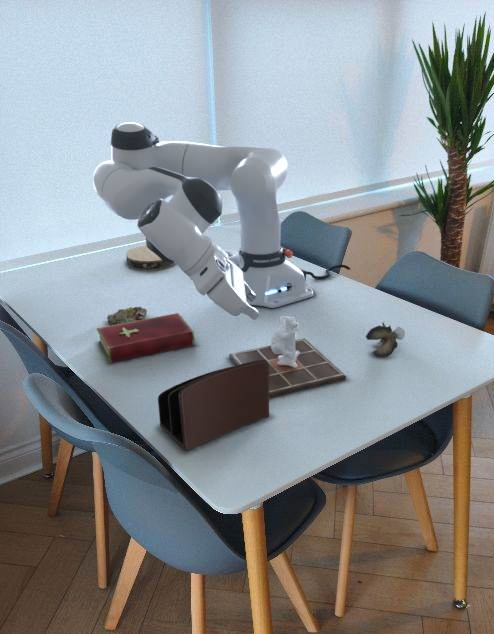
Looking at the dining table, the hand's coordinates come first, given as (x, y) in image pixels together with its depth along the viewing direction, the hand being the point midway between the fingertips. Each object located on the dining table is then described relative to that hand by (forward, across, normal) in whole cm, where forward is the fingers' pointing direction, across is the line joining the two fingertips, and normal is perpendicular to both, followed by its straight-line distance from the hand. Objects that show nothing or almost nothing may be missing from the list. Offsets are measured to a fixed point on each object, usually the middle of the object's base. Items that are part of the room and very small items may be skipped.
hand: (255, 307), depth 131 cm
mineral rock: (-12, -29, -34) cm, 46 cm away
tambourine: (-10, -74, -32) cm, 81 cm away
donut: (+8, -70, -14) cm, 72 cm away
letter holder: (+4, +21, -18) cm, 28 cm away
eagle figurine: (+33, -7, +11) cm, 36 cm away
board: (+16, 0, -6) cm, 17 cm away
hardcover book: (-7, -14, -29) cm, 33 cm away
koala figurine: (+15, 0, -5) cm, 16 cm away
